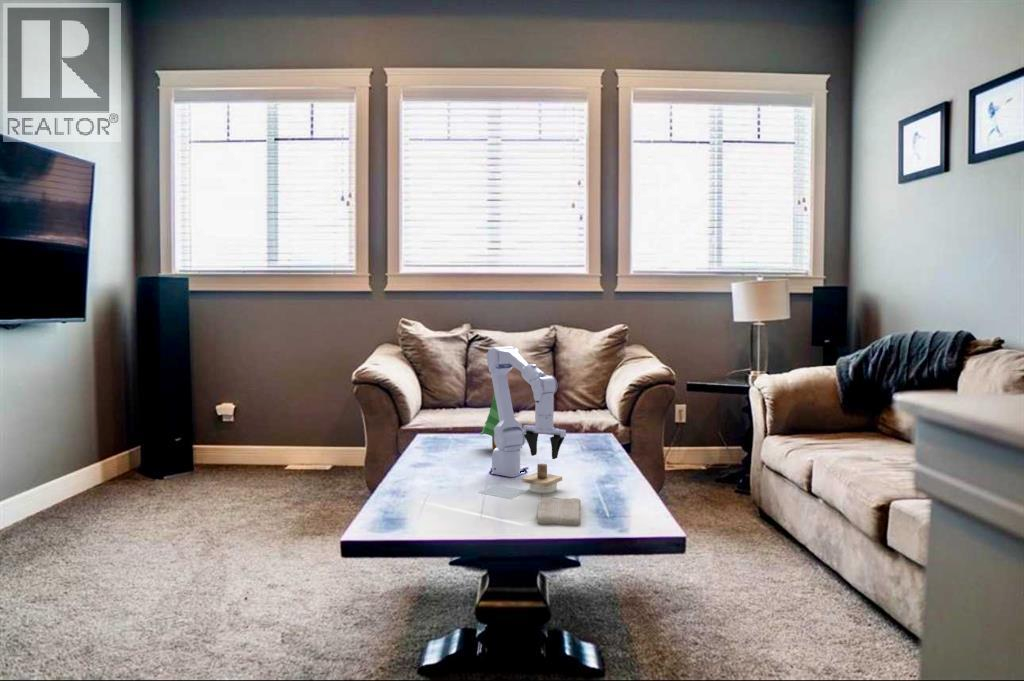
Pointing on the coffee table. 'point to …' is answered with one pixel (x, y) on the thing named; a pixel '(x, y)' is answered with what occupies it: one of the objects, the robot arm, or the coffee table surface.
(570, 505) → the washcloth
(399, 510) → the coffee table surface
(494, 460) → the robot arm
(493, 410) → the decorative tree
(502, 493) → the mat
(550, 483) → the lid
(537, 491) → the bowl
